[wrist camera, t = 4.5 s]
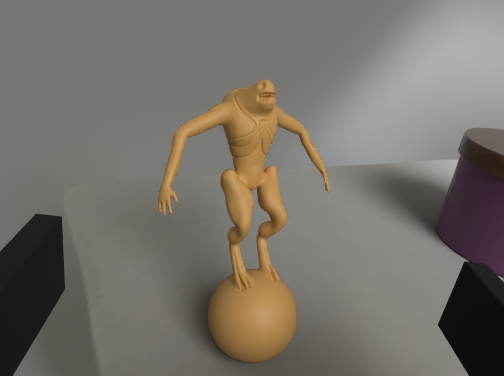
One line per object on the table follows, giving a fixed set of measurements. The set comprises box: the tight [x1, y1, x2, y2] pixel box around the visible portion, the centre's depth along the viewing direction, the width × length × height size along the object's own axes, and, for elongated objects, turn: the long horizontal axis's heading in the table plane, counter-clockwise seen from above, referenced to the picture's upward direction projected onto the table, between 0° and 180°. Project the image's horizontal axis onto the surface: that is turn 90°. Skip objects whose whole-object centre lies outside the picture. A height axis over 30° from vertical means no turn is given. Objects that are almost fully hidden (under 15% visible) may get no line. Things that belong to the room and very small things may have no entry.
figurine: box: [158, 80, 329, 363], centre depth 18 cm, size 8×6×12 cm
